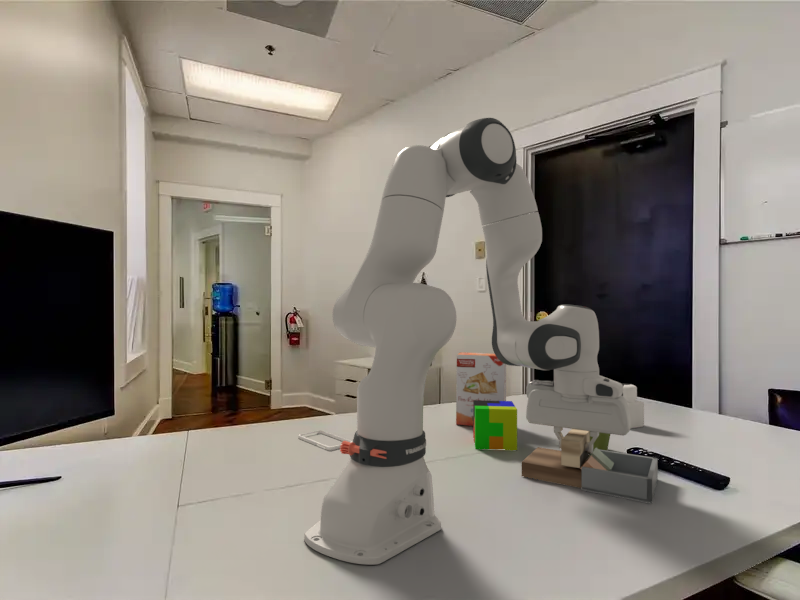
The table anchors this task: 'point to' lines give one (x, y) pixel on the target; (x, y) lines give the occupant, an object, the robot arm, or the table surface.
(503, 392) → the cracker box
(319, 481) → the table surface
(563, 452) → the tall wooden pillar
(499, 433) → the puzzle toy
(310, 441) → the phone case
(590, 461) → the tile terracotta
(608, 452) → the tray
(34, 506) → the table surface
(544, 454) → the brown wooden block
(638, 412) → the medicine bottle
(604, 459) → the tile sage
